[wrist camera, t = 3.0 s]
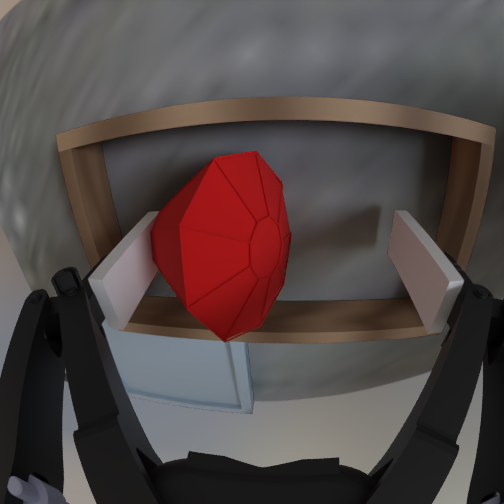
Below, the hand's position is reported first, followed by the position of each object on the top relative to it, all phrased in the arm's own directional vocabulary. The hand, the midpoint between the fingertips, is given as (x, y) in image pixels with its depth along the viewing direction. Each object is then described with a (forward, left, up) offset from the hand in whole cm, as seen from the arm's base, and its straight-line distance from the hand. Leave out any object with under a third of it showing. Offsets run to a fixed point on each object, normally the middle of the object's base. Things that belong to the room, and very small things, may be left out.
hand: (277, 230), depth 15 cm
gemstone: (+4, +1, -2) cm, 4 cm away
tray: (+10, +14, -1) cm, 17 cm away
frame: (0, 0, -1) cm, 1 cm away
